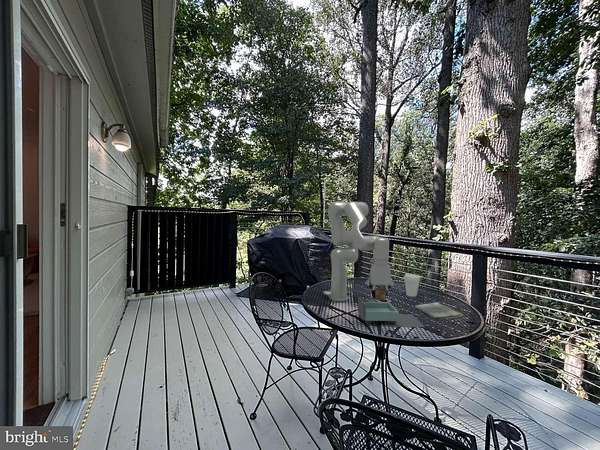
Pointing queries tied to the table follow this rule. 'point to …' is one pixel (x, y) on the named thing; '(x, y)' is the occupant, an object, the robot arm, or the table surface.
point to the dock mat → (405, 321)
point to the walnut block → (380, 294)
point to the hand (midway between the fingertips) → (379, 297)
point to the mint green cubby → (377, 311)
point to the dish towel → (438, 311)
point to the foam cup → (412, 284)
